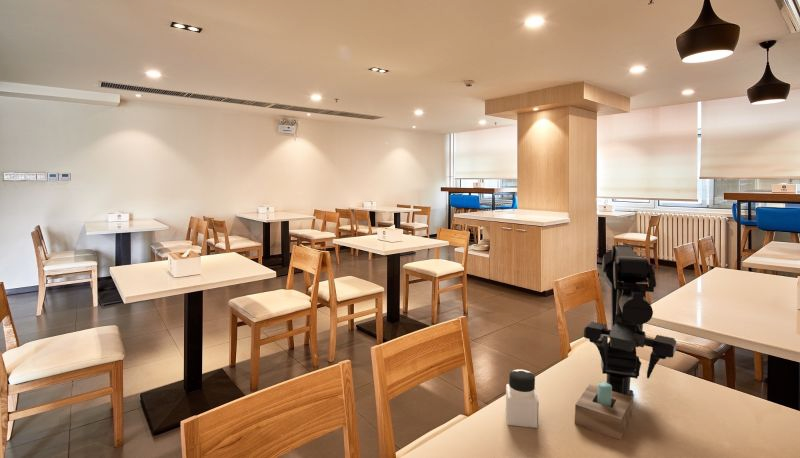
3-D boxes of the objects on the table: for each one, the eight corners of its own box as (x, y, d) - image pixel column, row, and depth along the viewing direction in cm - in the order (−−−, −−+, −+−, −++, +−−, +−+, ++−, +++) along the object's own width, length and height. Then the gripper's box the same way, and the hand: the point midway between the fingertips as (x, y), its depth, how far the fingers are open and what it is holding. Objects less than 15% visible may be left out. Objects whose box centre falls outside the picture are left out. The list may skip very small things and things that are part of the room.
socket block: (588, 401, 108) (589, 384, 107) (631, 415, 101) (632, 396, 101) (574, 423, 99) (575, 404, 98) (620, 439, 92) (621, 419, 92)
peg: (598, 414, 102) (600, 381, 101) (611, 419, 100) (613, 384, 99) (595, 420, 100) (596, 386, 99) (608, 424, 98) (610, 389, 97)
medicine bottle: (538, 428, 97) (539, 381, 95) (507, 425, 98) (508, 379, 97) (534, 411, 104) (535, 367, 102) (505, 409, 105) (506, 365, 104)
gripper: (577, 310, 96) (575, 373, 98) (671, 329, 84) (666, 399, 86) (591, 299, 104) (589, 356, 106) (678, 314, 92) (674, 378, 94)
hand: (626, 371), depth 98 cm, fingers open, 9 cm apart
